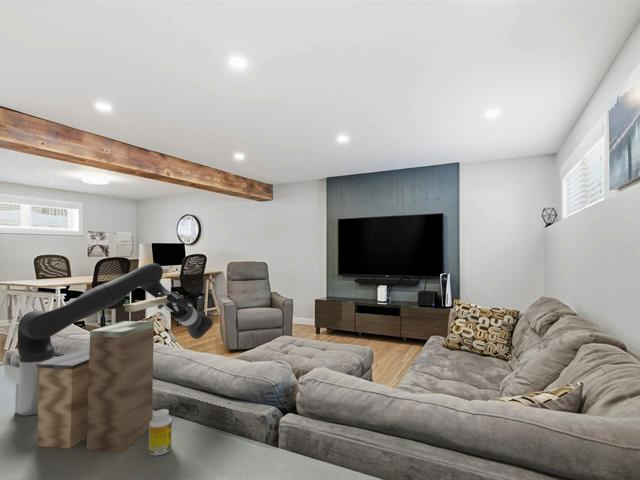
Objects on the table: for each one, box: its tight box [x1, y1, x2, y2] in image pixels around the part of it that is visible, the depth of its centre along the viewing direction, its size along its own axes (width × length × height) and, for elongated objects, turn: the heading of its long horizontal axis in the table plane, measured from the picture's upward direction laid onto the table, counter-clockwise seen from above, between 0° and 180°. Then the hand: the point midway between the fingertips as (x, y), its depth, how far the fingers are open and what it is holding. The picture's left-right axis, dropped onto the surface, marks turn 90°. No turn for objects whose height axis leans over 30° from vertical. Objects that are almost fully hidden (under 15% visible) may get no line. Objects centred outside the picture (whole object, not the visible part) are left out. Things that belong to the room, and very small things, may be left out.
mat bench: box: [36, 347, 90, 449], centre depth 105 cm, size 11×17×22 cm, turn 173°
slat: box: [124, 296, 170, 313], centre depth 117 cm, size 3×22×2 cm, turn 173°
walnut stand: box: [86, 320, 155, 453], centre depth 102 cm, size 10×14×32 cm
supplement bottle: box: [148, 408, 173, 456], centre depth 95 cm, size 6×6×10 cm
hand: (163, 295), depth 124 cm, fingers closed on slat, 3 cm apart
